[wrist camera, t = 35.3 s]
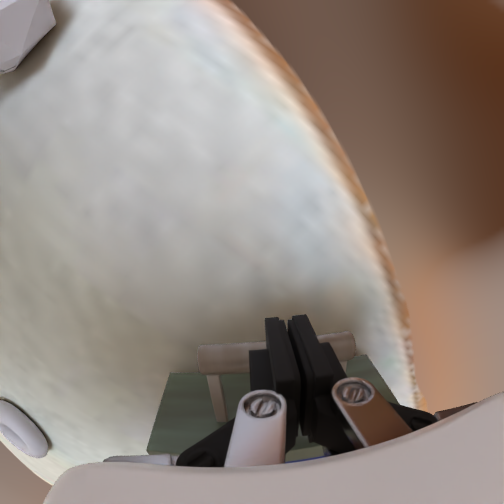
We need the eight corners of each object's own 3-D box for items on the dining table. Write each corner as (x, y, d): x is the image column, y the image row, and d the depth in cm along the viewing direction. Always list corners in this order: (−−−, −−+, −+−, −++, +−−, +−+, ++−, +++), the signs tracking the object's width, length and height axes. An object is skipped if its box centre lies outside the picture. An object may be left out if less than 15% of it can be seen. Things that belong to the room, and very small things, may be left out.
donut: (63, 446, 21) (9, 390, 19) (55, 464, 18) (-4, 407, 15) (35, 446, 22) (-10, 399, 19) (27, 461, 19) (-21, 412, 16)
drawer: (154, 308, 16) (110, 380, 9) (375, 290, 16) (438, 346, 9) (204, 469, 20) (199, 524, 13) (341, 455, 20) (358, 507, 14)
